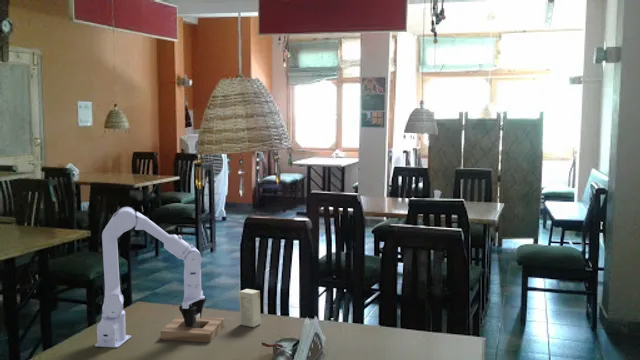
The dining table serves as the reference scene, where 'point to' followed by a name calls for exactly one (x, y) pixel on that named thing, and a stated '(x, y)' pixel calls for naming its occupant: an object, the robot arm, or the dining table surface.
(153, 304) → the dining table surface
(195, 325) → the grey rectangular block
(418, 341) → the dining table surface
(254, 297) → the skincare box
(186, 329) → the well block
